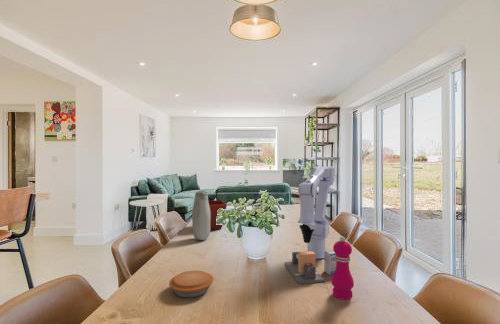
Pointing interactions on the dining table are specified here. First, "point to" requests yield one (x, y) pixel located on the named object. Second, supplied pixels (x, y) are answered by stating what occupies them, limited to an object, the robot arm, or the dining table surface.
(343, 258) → the pepper mill
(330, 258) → the medicine box
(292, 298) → the dining table surface
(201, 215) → the grey vase
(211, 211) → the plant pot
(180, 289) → the pie
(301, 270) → the collar
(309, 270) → the pipe stand
